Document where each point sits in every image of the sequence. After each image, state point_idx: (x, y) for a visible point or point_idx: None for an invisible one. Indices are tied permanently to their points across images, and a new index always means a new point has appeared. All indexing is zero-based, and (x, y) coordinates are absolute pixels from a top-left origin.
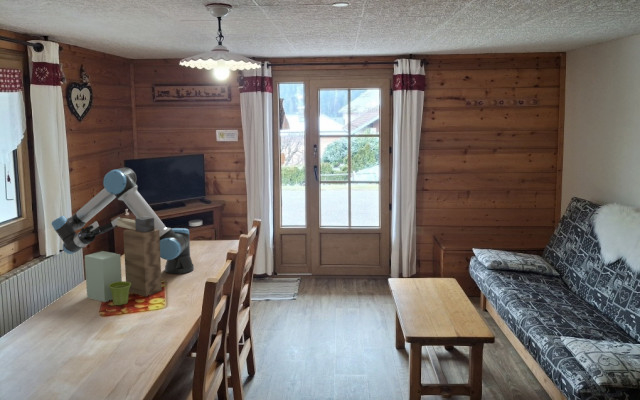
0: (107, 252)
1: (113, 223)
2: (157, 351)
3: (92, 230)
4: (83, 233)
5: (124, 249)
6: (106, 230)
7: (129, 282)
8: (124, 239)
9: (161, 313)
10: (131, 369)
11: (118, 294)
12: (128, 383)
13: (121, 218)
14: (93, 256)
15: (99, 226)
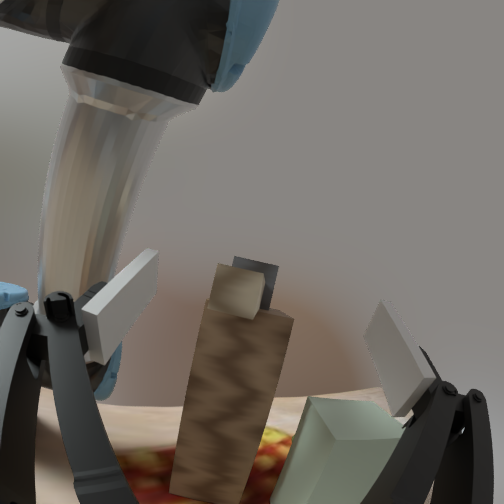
0: (329, 422)
1: (114, 326)
2: (347, 397)
3: (389, 401)
4: (453, 435)
5: (274, 392)
6: (32, 466)
7: (292, 438)
8: (284, 353)
9: (284, 422)
10: (376, 397)
11: None
12: (383, 392)
13: (233, 267)
14: (389, 421)
15: (124, 477)
